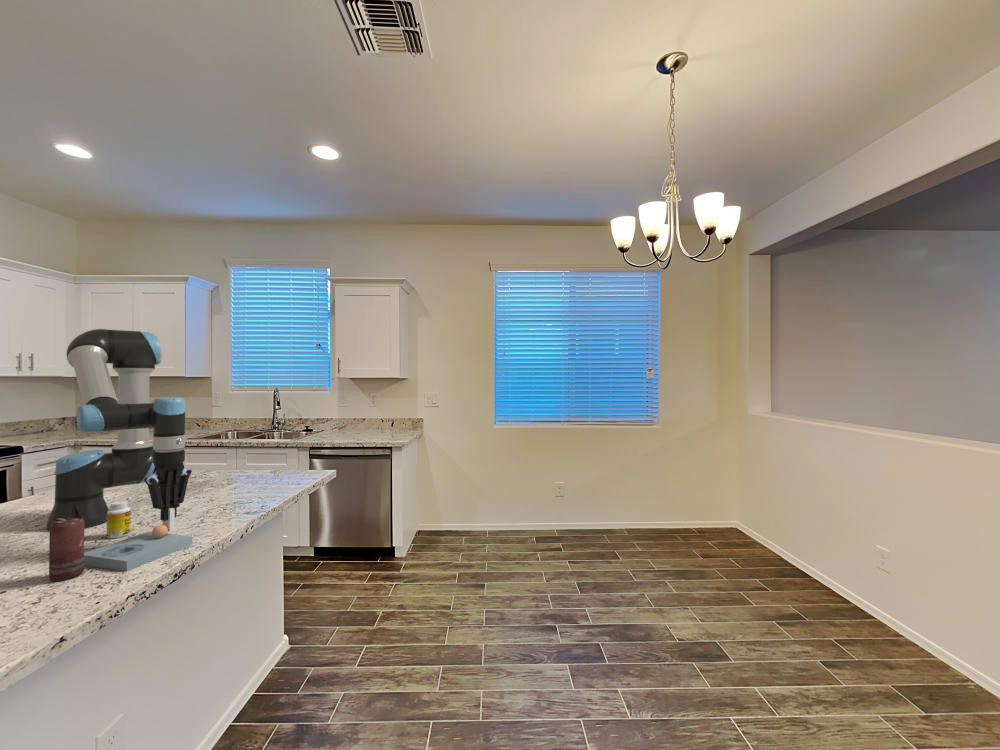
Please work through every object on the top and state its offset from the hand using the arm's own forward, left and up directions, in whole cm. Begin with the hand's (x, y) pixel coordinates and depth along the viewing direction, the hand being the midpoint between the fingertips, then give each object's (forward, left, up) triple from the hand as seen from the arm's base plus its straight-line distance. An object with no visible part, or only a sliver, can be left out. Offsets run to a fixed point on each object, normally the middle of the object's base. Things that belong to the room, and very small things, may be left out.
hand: (168, 530), depth 130 cm
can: (-3, -23, -4) cm, 24 cm away
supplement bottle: (-20, +1, -4) cm, 21 cm away
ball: (0, -3, 0) cm, 3 cm away
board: (0, -8, -4) cm, 9 cm away
